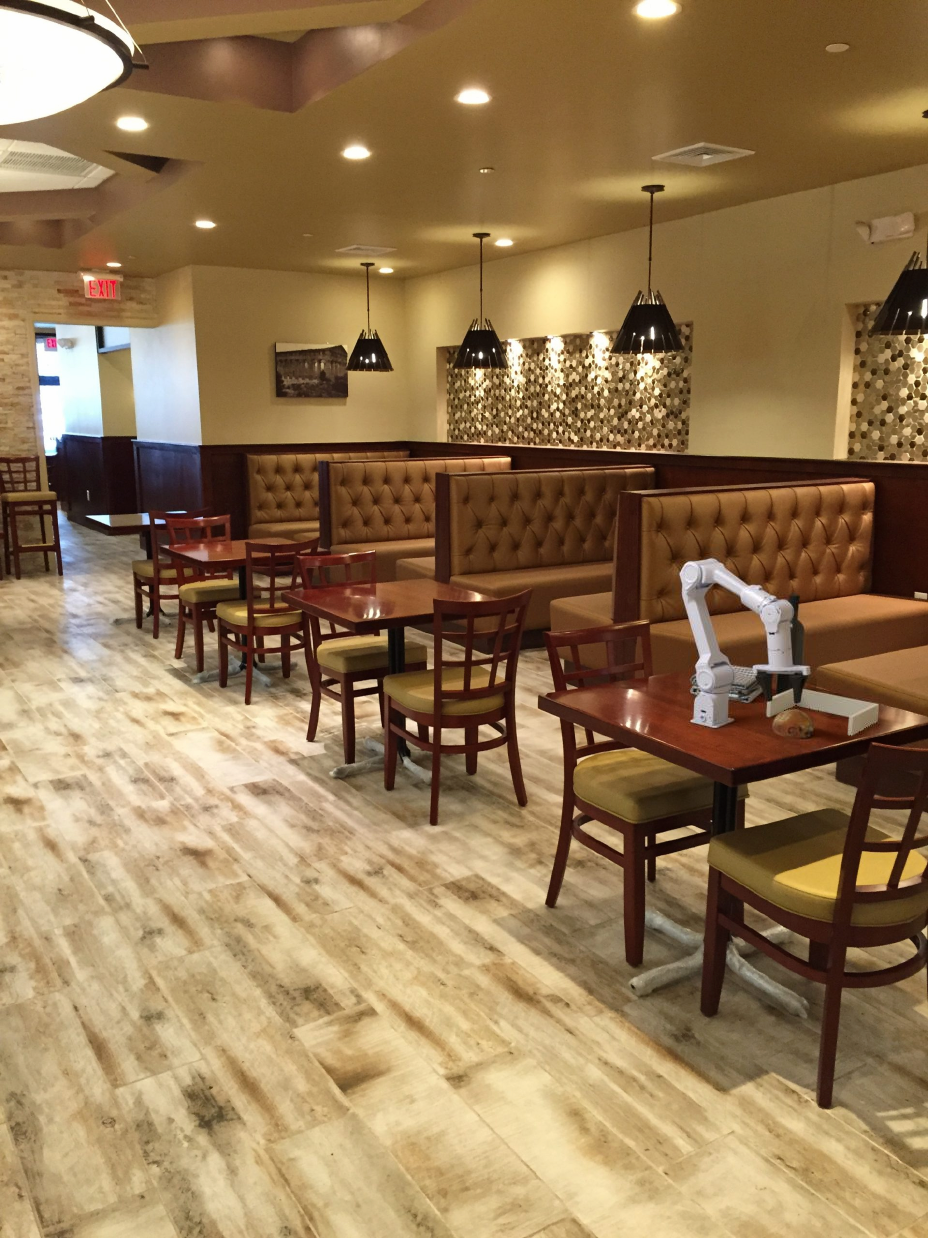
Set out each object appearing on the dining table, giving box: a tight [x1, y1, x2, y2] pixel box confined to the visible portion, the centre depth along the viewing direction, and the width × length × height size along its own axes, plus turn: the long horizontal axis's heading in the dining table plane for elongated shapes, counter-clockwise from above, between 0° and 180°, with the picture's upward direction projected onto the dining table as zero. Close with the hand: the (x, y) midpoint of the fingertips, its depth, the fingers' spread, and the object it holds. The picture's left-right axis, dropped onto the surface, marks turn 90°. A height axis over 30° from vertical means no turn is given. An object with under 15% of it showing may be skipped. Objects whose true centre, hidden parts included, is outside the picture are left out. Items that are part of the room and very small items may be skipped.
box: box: [766, 688, 880, 737], centre depth 270 cm, size 16×24×5 cm, turn 45°
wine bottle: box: [775, 593, 806, 695], centre depth 291 cm, size 6×6×30 cm
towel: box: [689, 664, 763, 704], centre depth 294 cm, size 15×18×8 cm
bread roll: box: [772, 708, 814, 739], centre depth 259 cm, size 10×10×8 cm
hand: (783, 702), depth 251 cm, fingers open, 7 cm apart
